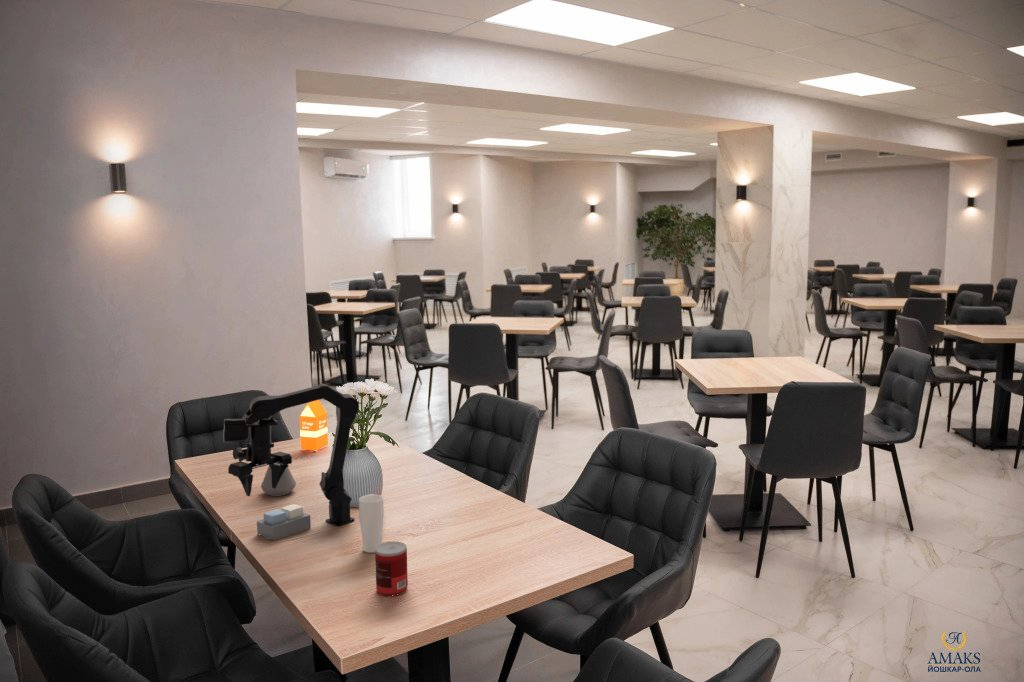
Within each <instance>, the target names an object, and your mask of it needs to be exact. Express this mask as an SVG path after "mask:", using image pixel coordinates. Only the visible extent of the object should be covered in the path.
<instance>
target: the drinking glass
mask: <svg viewBox="0 0 1024 682" xmlns="http://www.w3.org/2000/svg"><path fill="white" fill-rule="evenodd" d="M384 513H385V506H384V496H382V495H380V494H373V493H372V494H365V495H362V496H360V497H359V498H358V515H359V516H358V517H359V523H360V531H361V532H360V533H361V541H362V550H363V552H365V553H368V554H375V548H376V547H377V546H378V545H380V544H382V543H383V530H384V529H383V528H384V517H385V515H384Z"/></svg>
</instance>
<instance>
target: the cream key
mask: <svg viewBox="0 0 1024 682" xmlns="http://www.w3.org/2000/svg"><path fill="white" fill-rule="evenodd" d="M303 508H304V507H303V506H301V505H298V504H296V503H293V504H290V505H286V506H283V507H281V511H283V512H285V515H286V518H287V519H294V518H297V517H300V516H303V513H304V509H303Z"/></svg>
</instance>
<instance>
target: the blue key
mask: <svg viewBox="0 0 1024 682" xmlns="http://www.w3.org/2000/svg"><path fill="white" fill-rule="evenodd" d="M263 519H264V522H265V523H268V524H270V525H275V524H278V523H281V522H284V521H286V515H285V512H283V511H282V510H280V509H278V508H277V509H273V510H270V511H267V512H264V513H263Z"/></svg>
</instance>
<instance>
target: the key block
mask: <svg viewBox="0 0 1024 682" xmlns="http://www.w3.org/2000/svg"><path fill="white" fill-rule="evenodd" d="M311 528H312V525H311V514H308V513H306V512H303V516H300V517H297V518H294V519H287V518H286V521H284V522H281V523H278V524H275V525H270V524H268V523H265V522H264V518H262V519H260V520H257V521H256V532H257V535H258V534H260V535H262V536H261V537H263V536H264V537H263V538H265V537H266V538H265V539H267V538H269V539H268V540H270V539H271V540H270V541H272V540H274V541H277V540H279V538H280V539H283V538H285V537H288V536H292V535H294V534H298V533H299V532H303V531H306V530H309V529H311ZM260 535H259V536H260ZM282 537H283V538H282ZM276 539H277V540H276Z"/></svg>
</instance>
